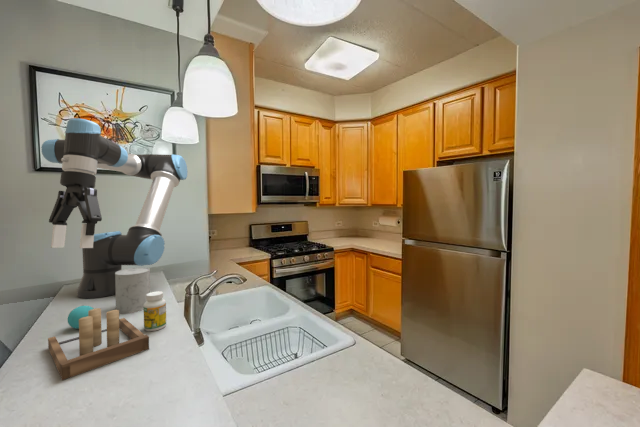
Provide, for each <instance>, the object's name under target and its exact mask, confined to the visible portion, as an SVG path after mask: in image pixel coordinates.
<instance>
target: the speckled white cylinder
mask: <svg viewBox="0 0 640 427" xmlns="http://www.w3.org/2000/svg"><path fill="white" fill-rule="evenodd" d="M150 270H151V269H150V268H149V267H132V268H125V269H122V270H120V271H117V272H115V287H116V294H115V310H119V314H121V315H123V314H134V313H138V311H139V312H142V311H144V308H143V306H144V303H145V302H146V301H147V299H146V294H148V293H151V274H150V273H151V271H150Z"/></svg>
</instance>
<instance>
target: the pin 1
mask: <svg viewBox="0 0 640 427" xmlns="http://www.w3.org/2000/svg"><path fill="white" fill-rule="evenodd" d="M78 334H79V335H78V337H79V339H78V341H79V342H78V344H79V346H78V347H79V349H78V350H79V353H78V354H79V356H82V355H85V354H88V353H91V352H94V347H93V317H92V316H87V317H83V318H80V319H79V329H78Z"/></svg>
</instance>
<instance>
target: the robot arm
mask: <svg viewBox="0 0 640 427" xmlns="http://www.w3.org/2000/svg"><path fill="white" fill-rule="evenodd" d="M64 134H65V136H64V139H59V138H56V139H47V140H45V141H43V143H42V144H41V147H40V149H41V154H42V156H43V158H44V159H45V160H46V161H48V162H50V163H52V164H59V165H60V164H61V169H62V171H61V173H60V178H59V179H60V181H59V184H60V186H63V187H66V188H65V191H64V190H58V193H57V198H56V201H55V203H54V206H53V208H52V211H51V214H50V216H49V219H48V222H49V223H50V224H52V225H53V226H52V235H51V245H50V248H55V249H59V248H60V249H61V248H62V249H63V248H65V244H66V237H67V236H66V234H67V227H68V223H67V221H68V219H69V217H70V216H71V214H72V212H73V210H74V209H76V208H77V207H78V208H77V209H79V213H80V215H81V217H82V219H83V220H82V221H81V229H80V230H81V231H80V240H79V249H82V250H81V251H82V268H83V269H82V277H81V280H80V283H79V285H78V288H77V289H76V290H77V291H76V292H77V293H76V295H77V297H78V298H80V299H95V298H96V299H97V298H104V297H109V296H115V295H116V287H115V272H117V271H120V270H123V269H122V267H123V266H139V267H144V266H151V265H152V266H153V265H154V264H156V263H158V261H159V260H160V259H161V258H162V256H163V254H164V251H165V244H166V243H165V240H164V238H163V237H162V236H163V235H162V233H161V231H160V229H161V227H162V223H163V220H164V218H165V214H166V213H167V212H166V211H167V208H168V206H169V202H170V200H171V197H172V193H173V191H174V188H177V187H178V186H179V184H180V182H181V181H184V180H186V179H187V177H188V166H187V163H186V160H185V158H184V157H183V156H181V155H179V154H173V153H171V154H155V153H154V154H153V153H152V154H150V153H149V154H147V153H146V154H144V153H143V154H134V153H128V151H127V150H126V149H125V148H124V147H123V146H121V145H120V144H118V143H115V142H114V141H112V140H110V139H108V138H106V137H104V136H103V135H101V134H102V133H101V127H100V125H99V124H98V123H97V122H94V121H92V120H88V119H86V118H79V117H77V118H76V117H74V118H70V119H68V120H67V122H66V128H65V131H64ZM98 169H102V170H109V171H114V172H115V171H116V172H121V173H122V174H124V175H127V176H131V177H136V178H142V179H147V180H151V184H150V187H149V190H148V192H147V194H146V197H145V200H144V202H143V204H142V207H141V210H140V213H139V215H138V217H137V219H136V223H135V224H134V225H131V226H130V227H129V228H128V230H127V233H126V234H122V231H120V230H117V231H108V232H107V231H106V232H101V233H95V229H96V225H97V224H98V222H101V221H102V220H103V218H102V214H101V209H100V204H99V201H98V189H96V180H97V177H96V175H97V171H98Z"/></svg>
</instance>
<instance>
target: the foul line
mask: <svg viewBox="0 0 640 427" xmlns="http://www.w3.org/2000/svg"><path fill="white" fill-rule="evenodd" d="M104 332H107V328H105V329H101V333H104ZM76 340H79V336H78V337H75V338H74V337H73V338H70V339H66V340H63V341H60V342H59V341H58V343H59V345H61V344H66V343H69V342H72V341H76Z"/></svg>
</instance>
